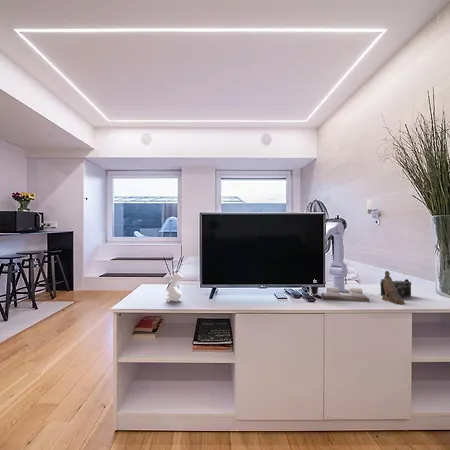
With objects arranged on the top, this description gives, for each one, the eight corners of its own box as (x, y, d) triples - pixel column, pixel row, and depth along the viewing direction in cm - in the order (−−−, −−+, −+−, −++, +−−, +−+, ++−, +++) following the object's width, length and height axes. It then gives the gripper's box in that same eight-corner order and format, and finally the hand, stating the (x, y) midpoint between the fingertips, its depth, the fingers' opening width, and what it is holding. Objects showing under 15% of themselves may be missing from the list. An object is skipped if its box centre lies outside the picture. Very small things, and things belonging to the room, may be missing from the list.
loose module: (309, 294, 180) (309, 283, 180) (317, 295, 179) (317, 283, 179) (310, 296, 175) (310, 284, 175) (318, 297, 174) (318, 285, 174)
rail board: (321, 295, 178) (321, 285, 178) (364, 297, 173) (364, 287, 173) (323, 299, 168) (323, 289, 168) (369, 301, 163) (369, 291, 163)
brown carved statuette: (381, 303, 168) (376, 271, 172) (389, 303, 169) (384, 271, 173) (397, 304, 157) (391, 270, 160) (406, 304, 158) (400, 269, 162)
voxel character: (159, 290, 171) (174, 269, 170) (175, 302, 171) (191, 281, 170) (156, 293, 163) (172, 271, 163) (173, 306, 163) (189, 284, 163)
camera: (385, 299, 169) (385, 281, 169) (378, 295, 178) (378, 278, 178) (418, 299, 168) (418, 281, 168) (409, 295, 177) (409, 278, 177)
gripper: (306, 268, 185) (306, 290, 185) (307, 272, 171) (307, 295, 171) (318, 268, 183) (318, 290, 184) (320, 272, 169) (320, 296, 169)
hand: (313, 293), depth 177 cm, fingers open, 6 cm apart
